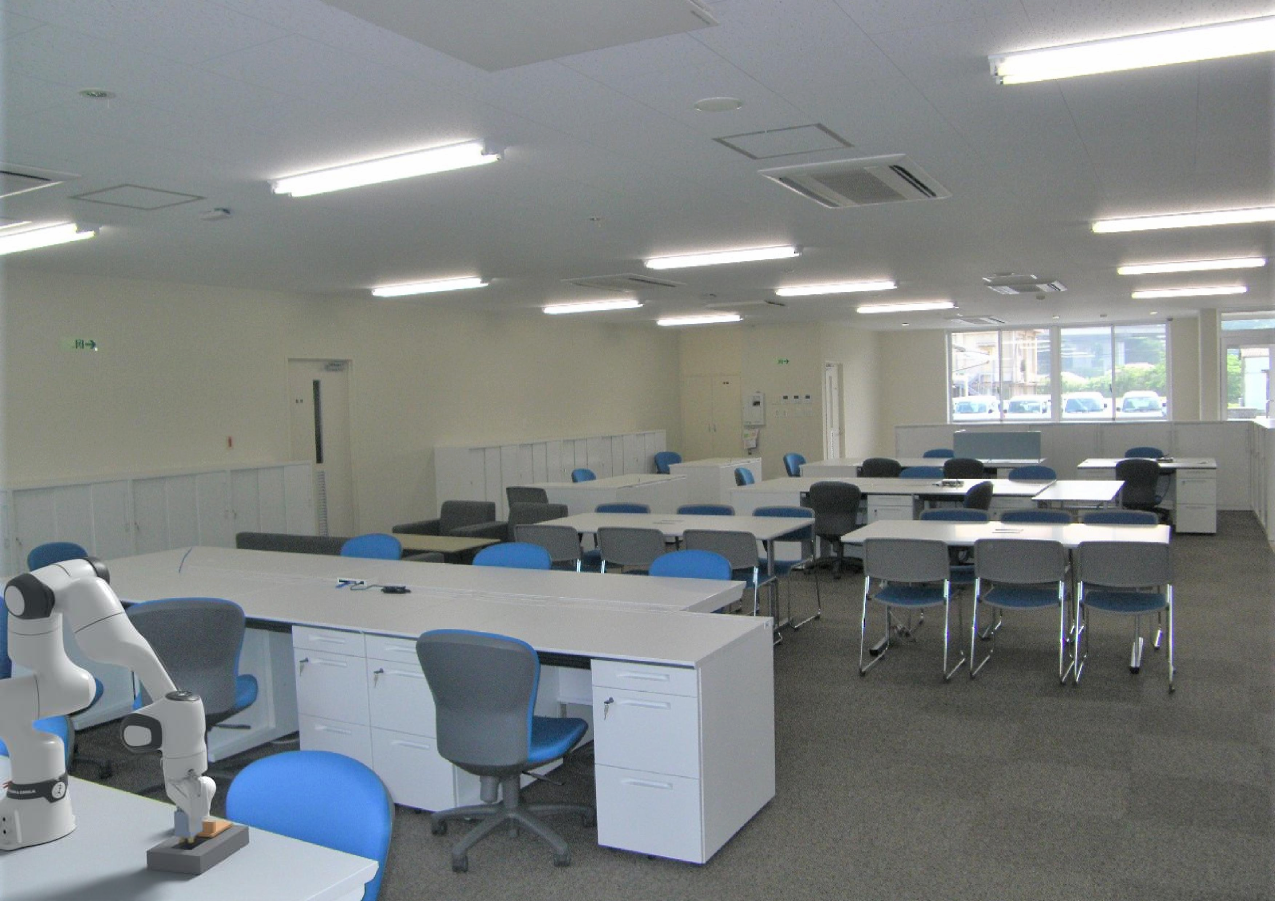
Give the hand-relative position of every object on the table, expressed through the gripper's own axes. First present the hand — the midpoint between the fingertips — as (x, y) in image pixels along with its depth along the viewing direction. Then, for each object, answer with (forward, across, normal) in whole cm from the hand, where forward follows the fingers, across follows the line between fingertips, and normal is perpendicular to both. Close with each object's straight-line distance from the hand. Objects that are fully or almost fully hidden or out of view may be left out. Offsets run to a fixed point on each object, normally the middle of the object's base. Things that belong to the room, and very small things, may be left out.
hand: (188, 826), depth 212 cm
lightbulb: (+8, +22, -9) cm, 25 cm away
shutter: (+4, +4, -6) cm, 8 cm away
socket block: (+8, +2, -3) cm, 9 cm away
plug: (+3, 0, 0) cm, 3 cm away
